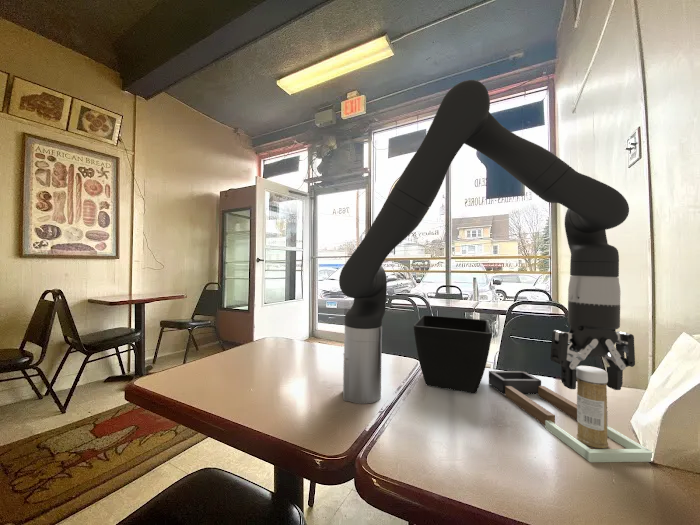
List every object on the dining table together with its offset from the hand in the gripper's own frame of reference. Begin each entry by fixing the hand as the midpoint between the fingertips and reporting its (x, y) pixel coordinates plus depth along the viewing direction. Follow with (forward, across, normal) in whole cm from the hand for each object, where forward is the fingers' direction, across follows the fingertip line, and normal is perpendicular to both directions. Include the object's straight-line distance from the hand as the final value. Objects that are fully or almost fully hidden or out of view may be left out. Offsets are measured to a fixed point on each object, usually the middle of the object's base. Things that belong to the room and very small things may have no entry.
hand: (591, 388), depth 55 cm
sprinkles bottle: (+10, 0, 0) cm, 10 cm away
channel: (+10, 0, +12) cm, 16 cm away
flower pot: (+10, -15, +29) cm, 34 cm away
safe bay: (+10, 0, 0) cm, 10 cm away
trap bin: (+10, 0, +24) cm, 26 cm away
